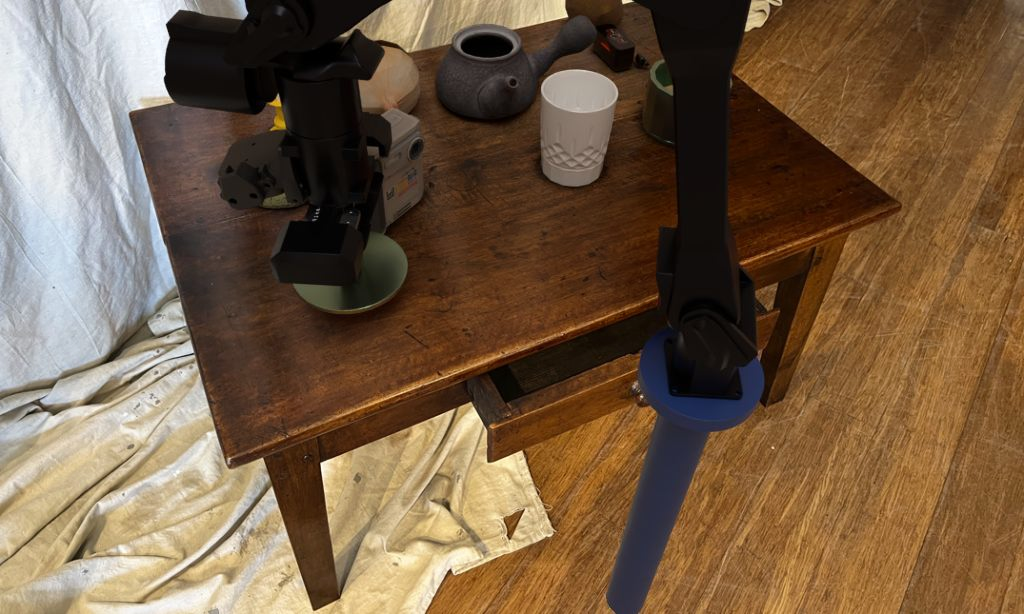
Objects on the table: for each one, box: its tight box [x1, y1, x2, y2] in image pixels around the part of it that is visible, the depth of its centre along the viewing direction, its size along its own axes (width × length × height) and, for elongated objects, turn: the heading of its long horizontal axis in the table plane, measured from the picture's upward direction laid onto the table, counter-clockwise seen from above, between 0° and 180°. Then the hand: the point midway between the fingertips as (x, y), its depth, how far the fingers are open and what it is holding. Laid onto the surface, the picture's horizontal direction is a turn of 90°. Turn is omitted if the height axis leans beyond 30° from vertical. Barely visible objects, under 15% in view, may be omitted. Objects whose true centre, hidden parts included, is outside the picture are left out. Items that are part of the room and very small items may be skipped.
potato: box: [564, 0, 625, 28], centre depth 107 cm, size 8×12×8 cm
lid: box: [292, 231, 409, 315], centre depth 69 cm, size 10×10×5 cm
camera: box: [367, 109, 426, 235], centre depth 78 cm, size 11×6×10 cm, turn 143°
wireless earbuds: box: [592, 24, 651, 72], centre depth 103 cm, size 5×7×3 cm, turn 26°
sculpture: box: [359, 39, 421, 115], centre depth 90 cm, size 9×9×15 cm
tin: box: [641, 58, 733, 148], centre depth 92 cm, size 9×9×6 cm
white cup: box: [539, 69, 619, 188], centre depth 85 cm, size 8×8×10 cm
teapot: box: [434, 15, 597, 120], centre depth 93 cm, size 19×15×10 cm
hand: (349, 266), depth 70 cm, fingers closed on lid, 2 cm apart
